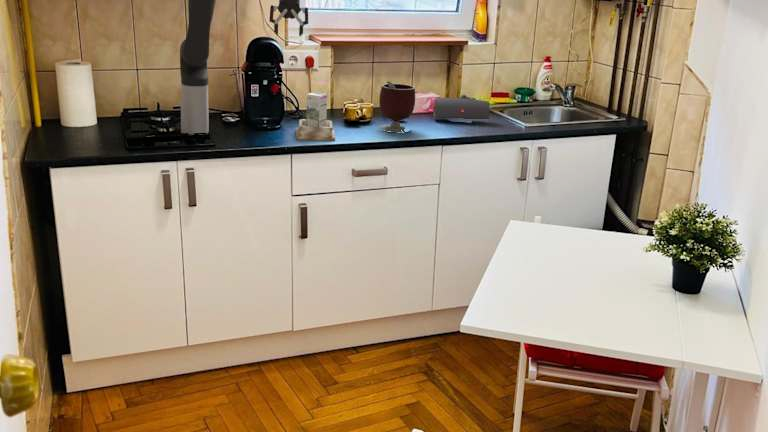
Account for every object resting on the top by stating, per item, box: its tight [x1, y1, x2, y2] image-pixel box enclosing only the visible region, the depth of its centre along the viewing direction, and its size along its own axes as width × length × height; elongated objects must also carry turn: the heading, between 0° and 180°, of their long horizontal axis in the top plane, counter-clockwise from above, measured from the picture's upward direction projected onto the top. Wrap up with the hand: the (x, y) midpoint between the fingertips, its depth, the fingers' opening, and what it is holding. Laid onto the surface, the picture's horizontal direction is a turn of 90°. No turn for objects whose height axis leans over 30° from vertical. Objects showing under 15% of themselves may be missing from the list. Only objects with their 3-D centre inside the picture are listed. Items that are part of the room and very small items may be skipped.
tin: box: [350, 98, 364, 104], centre depth 314 cm, size 15×3×8 cm, turn 168°
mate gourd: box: [378, 80, 416, 132], centre depth 299 cm, size 16×14×20 cm
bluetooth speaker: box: [433, 97, 491, 120], centre depth 324 cm, size 23×9×10 cm, turn 90°
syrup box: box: [305, 91, 328, 127], centre depth 282 cm, size 6×6×14 cm
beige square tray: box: [295, 118, 336, 141], centre depth 284 cm, size 14×14×4 cm
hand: (288, 35), depth 286 cm, fingers open, 8 cm apart
